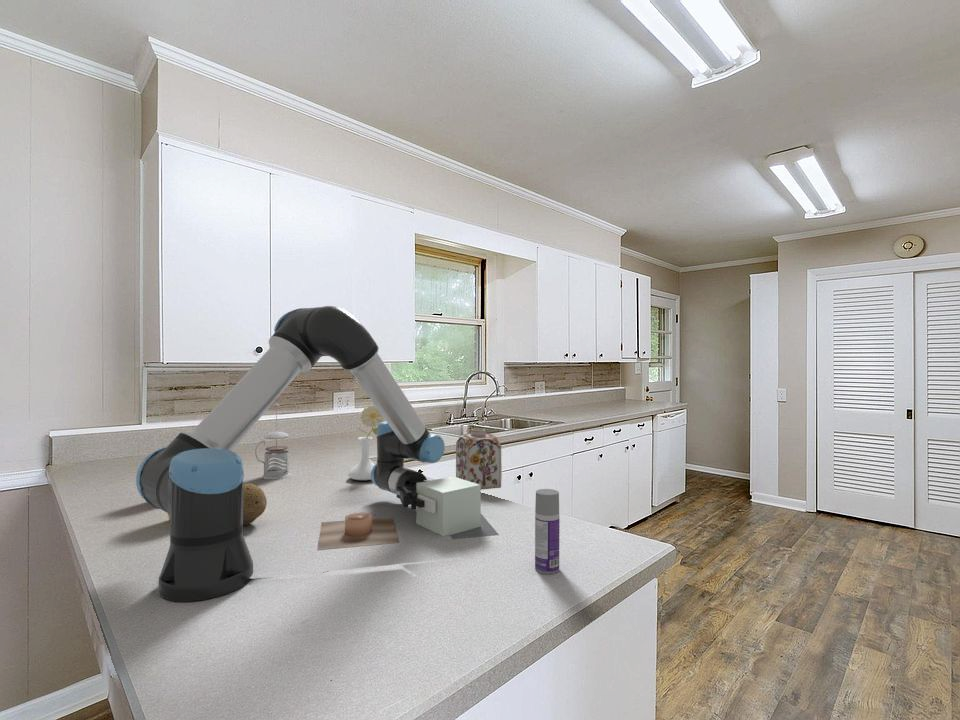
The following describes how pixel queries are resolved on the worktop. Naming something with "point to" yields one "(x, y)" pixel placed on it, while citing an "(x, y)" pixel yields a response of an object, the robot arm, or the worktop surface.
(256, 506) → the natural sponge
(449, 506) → the pale mint green cube
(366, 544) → the board
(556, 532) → the container
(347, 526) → the bowl
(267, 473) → the french press
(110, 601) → the worktop surface
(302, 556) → the worktop surface
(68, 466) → the worktop surface
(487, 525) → the mat
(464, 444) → the decorative jar
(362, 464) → the flower in vase
